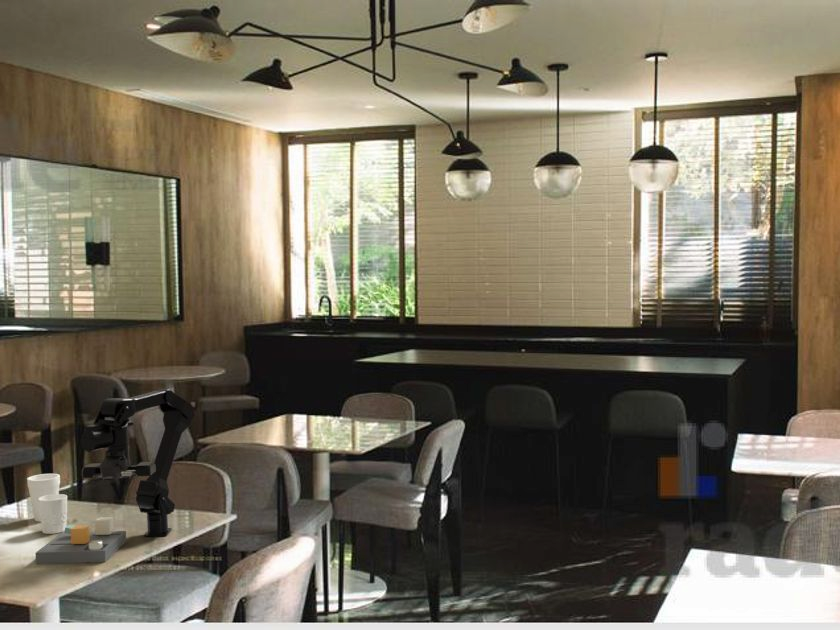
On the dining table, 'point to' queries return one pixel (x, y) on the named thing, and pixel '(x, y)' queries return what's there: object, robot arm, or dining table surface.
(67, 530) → the rocker teal
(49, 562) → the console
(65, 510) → the white cup
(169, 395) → the robot arm
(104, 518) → the beige block
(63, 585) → the dining table surface
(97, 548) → the clear cube
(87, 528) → the fader orange
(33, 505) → the foam cup
